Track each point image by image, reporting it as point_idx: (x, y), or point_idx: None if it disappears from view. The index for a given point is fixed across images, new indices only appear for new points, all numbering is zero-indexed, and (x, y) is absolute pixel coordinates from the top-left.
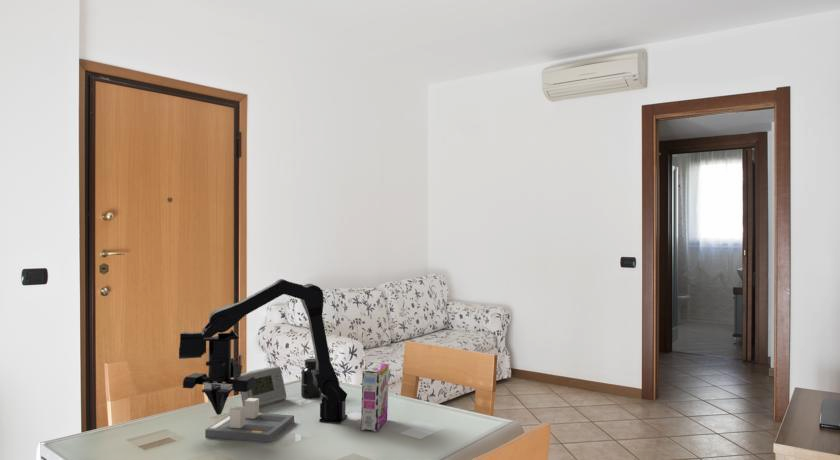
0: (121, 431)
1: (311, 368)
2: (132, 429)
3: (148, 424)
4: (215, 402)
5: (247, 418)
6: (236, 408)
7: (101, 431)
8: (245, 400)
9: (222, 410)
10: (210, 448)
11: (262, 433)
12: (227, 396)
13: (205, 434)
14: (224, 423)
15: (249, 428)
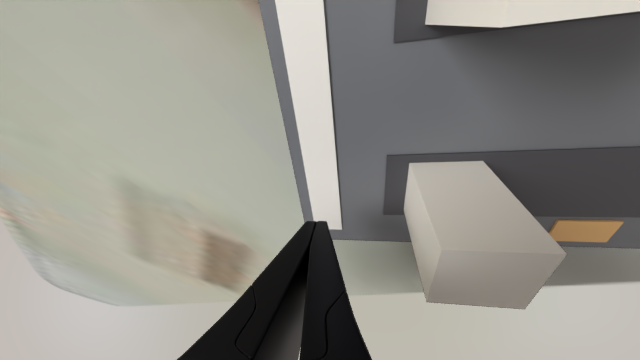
0: (55, 221)
1: None
2: (54, 204)
3: (23, 157)
4: (299, 338)
5: (460, 30)
6: (476, 289)
7: (23, 228)
8: (520, 8)
9: (329, 233)
10: (389, 276)
11: (619, 240)
12: (366, 355)
13: None
14: (341, 164)
15: (526, 203)
